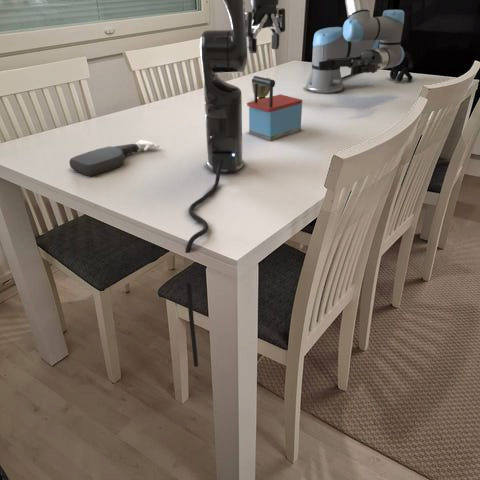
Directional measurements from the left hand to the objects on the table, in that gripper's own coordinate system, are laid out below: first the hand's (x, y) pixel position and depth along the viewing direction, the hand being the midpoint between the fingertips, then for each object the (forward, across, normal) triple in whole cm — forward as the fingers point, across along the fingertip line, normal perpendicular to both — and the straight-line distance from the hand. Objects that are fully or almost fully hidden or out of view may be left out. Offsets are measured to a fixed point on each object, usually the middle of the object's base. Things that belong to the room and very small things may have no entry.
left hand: (264, 50), depth 127 cm
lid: (+16, -5, 0) cm, 17 cm away
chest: (+25, -5, 0) cm, 25 cm away
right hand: (+9, -32, +1) cm, 33 cm away
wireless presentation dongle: (+25, +44, -13) cm, 52 cm away
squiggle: (+25, -96, -12) cm, 100 cm away
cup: (+25, -28, -30) cm, 48 cm away
